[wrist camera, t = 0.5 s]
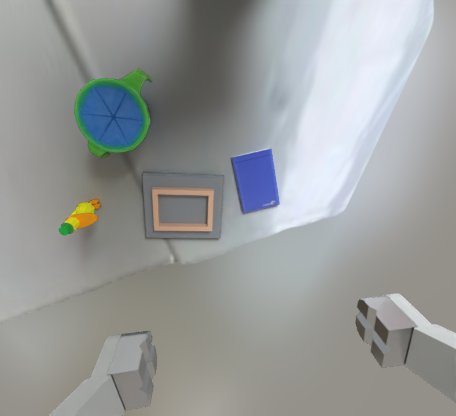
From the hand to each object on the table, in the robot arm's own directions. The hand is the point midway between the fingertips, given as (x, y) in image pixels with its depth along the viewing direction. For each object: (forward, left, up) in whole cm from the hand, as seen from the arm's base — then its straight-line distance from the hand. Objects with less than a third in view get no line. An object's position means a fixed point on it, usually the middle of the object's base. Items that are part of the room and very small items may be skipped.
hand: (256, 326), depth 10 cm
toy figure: (+13, -23, -45) cm, 53 cm away
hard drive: (+7, +10, -46) cm, 47 cm away
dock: (+13, -5, -45) cm, 47 cm away
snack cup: (-5, -15, -45) cm, 48 cm away
